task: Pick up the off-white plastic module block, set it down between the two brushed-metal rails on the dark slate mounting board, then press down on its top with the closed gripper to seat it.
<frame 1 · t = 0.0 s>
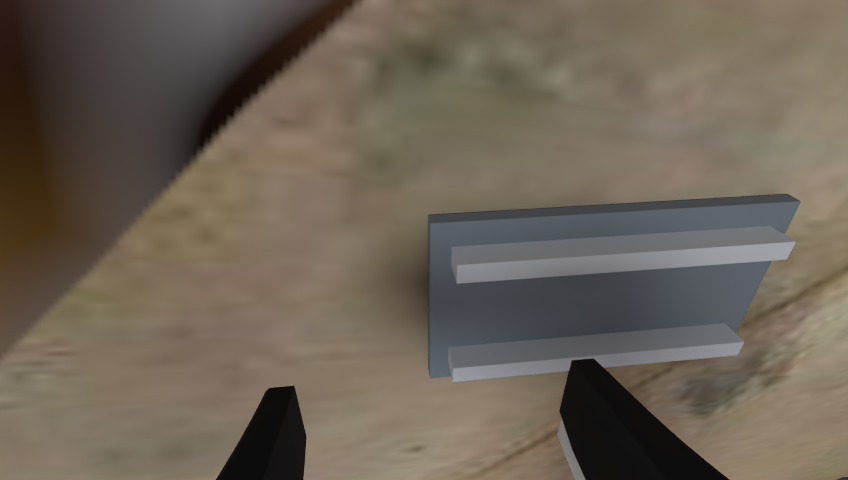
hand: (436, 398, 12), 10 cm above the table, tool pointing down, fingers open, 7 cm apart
module block: (590, 414, 30), on the table
rail dock: (594, 287, 24), on the table
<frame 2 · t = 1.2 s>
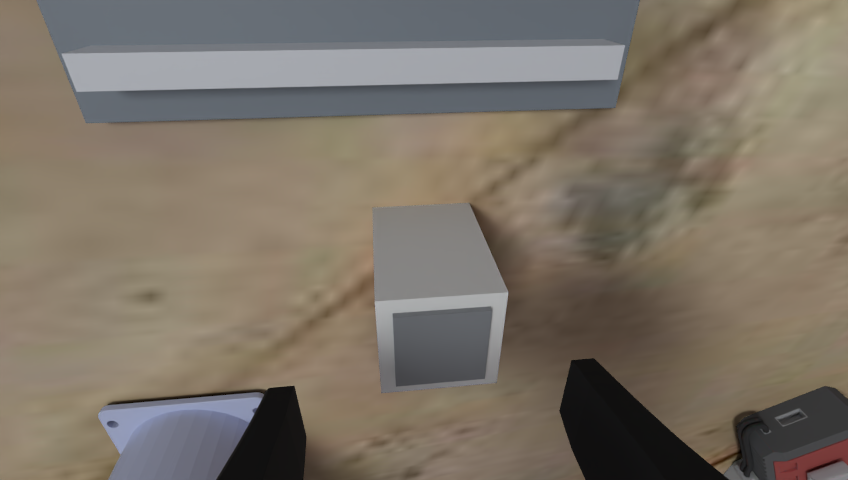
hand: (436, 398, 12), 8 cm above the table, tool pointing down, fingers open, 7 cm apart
module block: (421, 246, 19), on the table
walkie-talkie: (770, 462, 34), on the table
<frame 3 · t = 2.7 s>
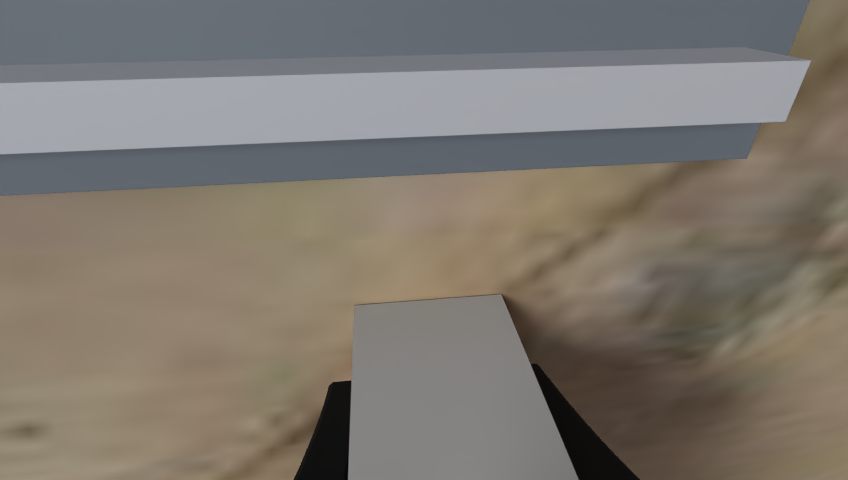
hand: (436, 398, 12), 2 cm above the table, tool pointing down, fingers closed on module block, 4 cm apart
module block: (428, 352, 13), on the table, touching gripper
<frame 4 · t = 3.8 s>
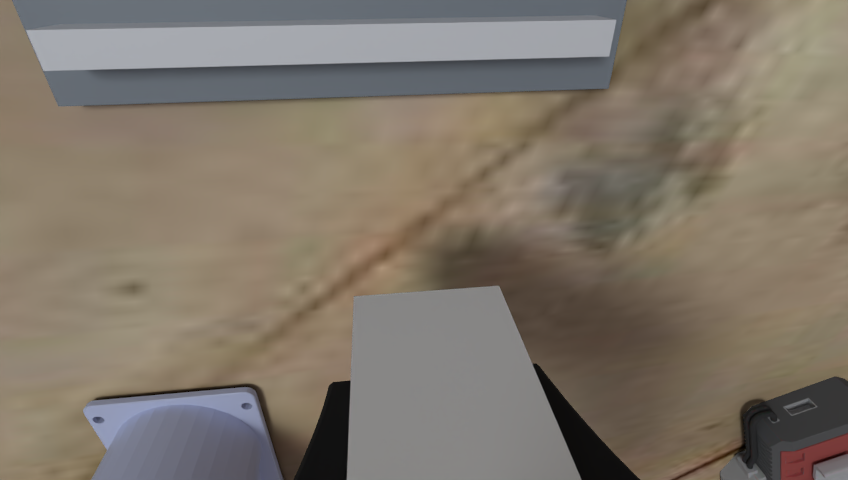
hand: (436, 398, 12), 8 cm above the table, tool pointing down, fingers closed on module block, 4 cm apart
module block: (427, 344, 13), point 6 cm above the table, touching gripper
walkie-talkie: (771, 457, 33), on the table
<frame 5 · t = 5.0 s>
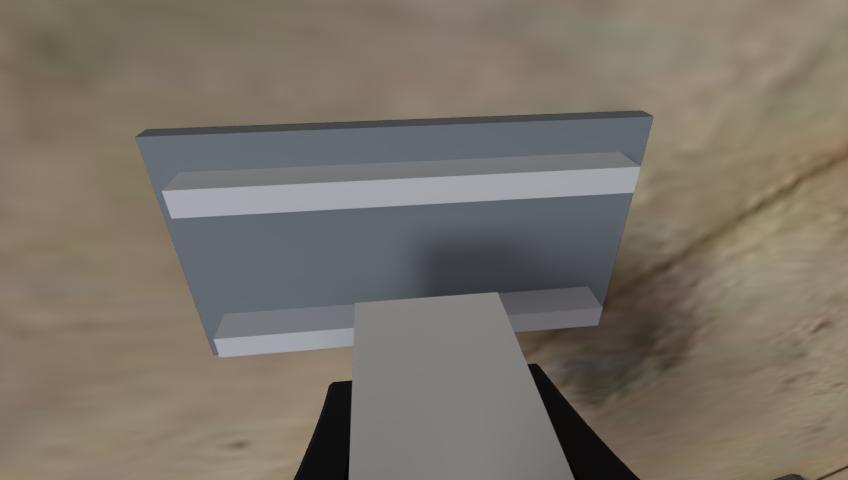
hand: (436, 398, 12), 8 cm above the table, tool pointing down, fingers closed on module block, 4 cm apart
module block: (427, 349, 13), point 6 cm above the table, touching gripper
rail dock: (409, 237, 19), on the table
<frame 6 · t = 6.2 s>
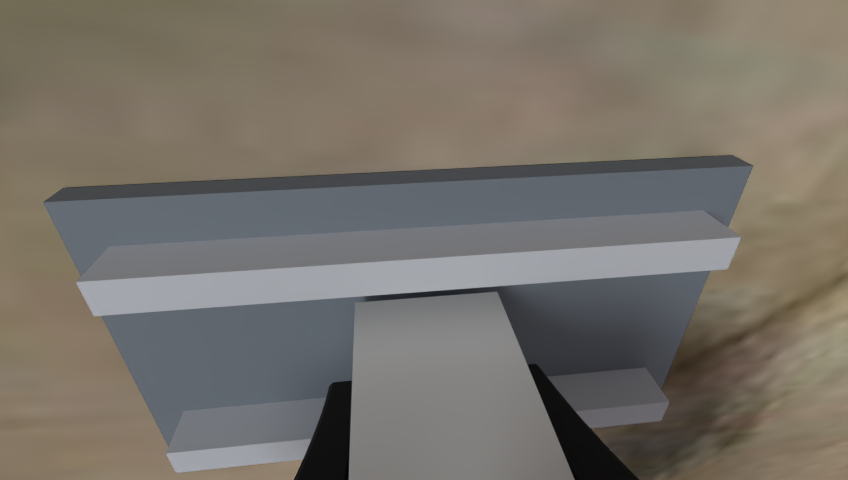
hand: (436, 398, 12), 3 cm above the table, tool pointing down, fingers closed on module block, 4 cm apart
module block: (427, 349, 13), point 1 cm above the table, touching gripper
rail dock: (422, 312, 14), on the table
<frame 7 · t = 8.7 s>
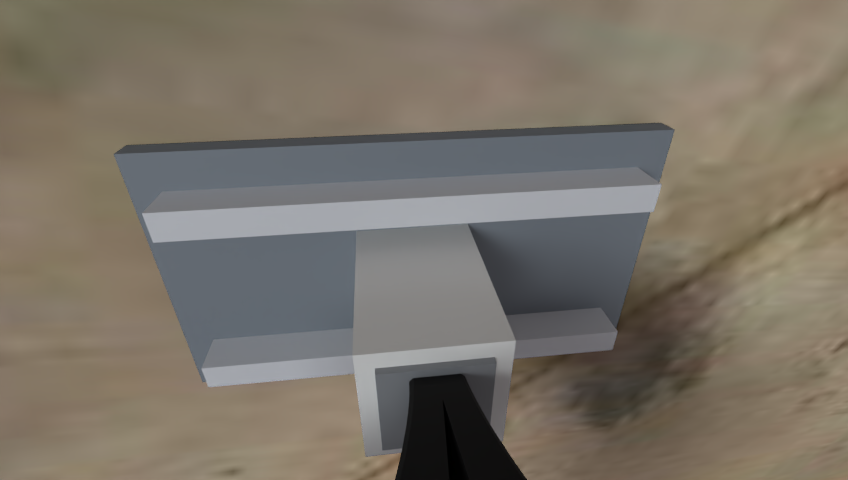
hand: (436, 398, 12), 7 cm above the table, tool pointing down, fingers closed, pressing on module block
module block: (413, 272, 17), point 1 cm above the table, touching gripper, rail dock
rail dock: (411, 257, 17), on the table
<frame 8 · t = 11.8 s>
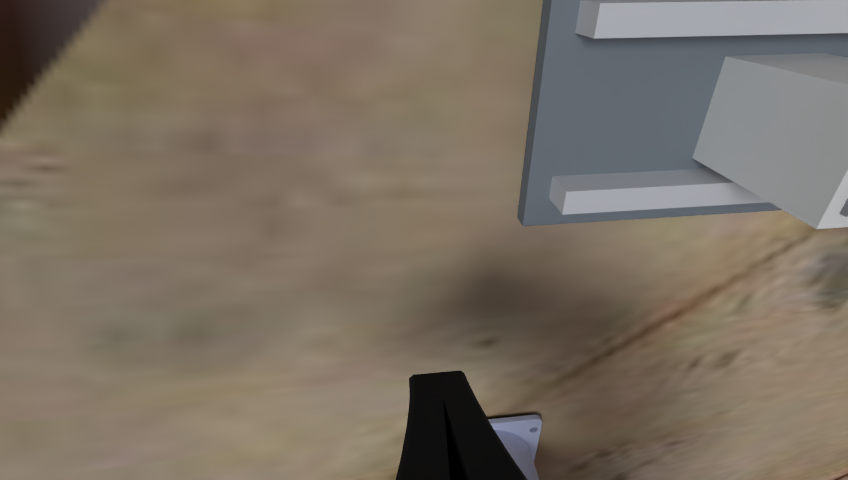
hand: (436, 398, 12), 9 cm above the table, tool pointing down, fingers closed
module block: (754, 108, 18), point 1 cm above the table, touching rail dock
rail dock: (741, 98, 18), on the table
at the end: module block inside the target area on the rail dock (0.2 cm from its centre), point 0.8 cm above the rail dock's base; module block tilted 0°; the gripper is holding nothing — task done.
